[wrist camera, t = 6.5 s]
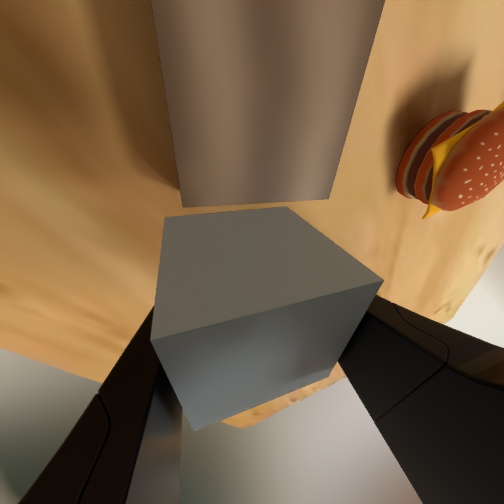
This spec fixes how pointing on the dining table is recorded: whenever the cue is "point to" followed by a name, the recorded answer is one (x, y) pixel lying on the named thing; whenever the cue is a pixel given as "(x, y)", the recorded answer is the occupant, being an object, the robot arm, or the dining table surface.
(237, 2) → the walnut block
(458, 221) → the dining table surface
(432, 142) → the hamburger
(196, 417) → the slate cube
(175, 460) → the robot arm
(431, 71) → the dining table surface
